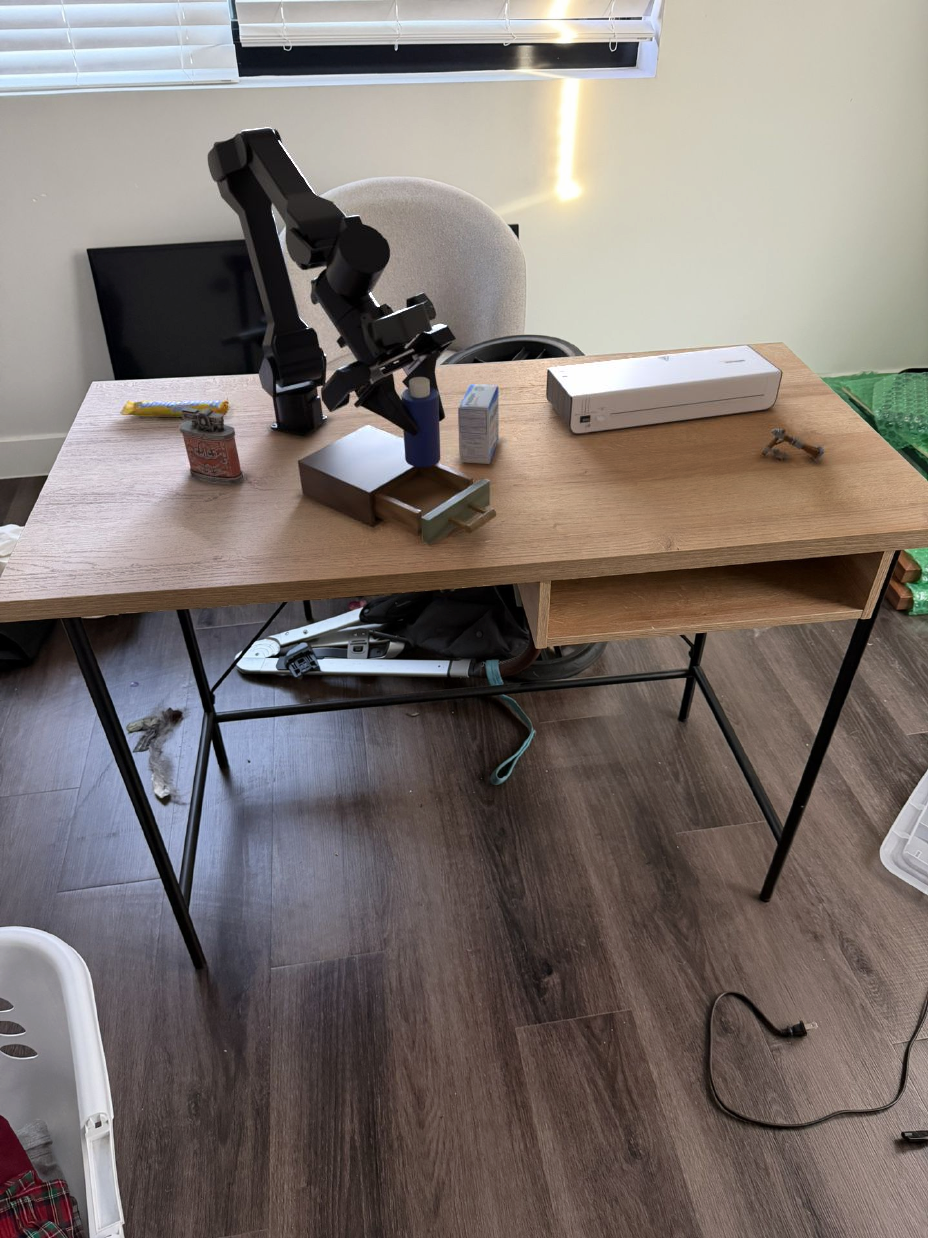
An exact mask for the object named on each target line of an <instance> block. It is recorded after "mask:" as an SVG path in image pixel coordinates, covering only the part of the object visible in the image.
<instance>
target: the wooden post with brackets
mask: <svg viewBox="0 0 928 1238" xmlns="http://www.w3.org/2000/svg"><path fill="white" fill-rule="evenodd" d="M771 434H772V435H773V438H772V439H771V441H770V442H769V443H768V444H767V445H765V447H764V450H762V452H761V455H762V457H766V456H767V455H768V454H770V453H771V454H772V455H774V457H775V458H776V459H777V458H779V459H780V460H781V461H783V460H787V458H788V454H786V451H782V450H780V448H779V447H778V448H777V449H774V447H775V446H778V445H780V444H784V443H787V444H788V445H789V446H791V447H793V448H795V449H797V450H798V451H799V450H801V451H803V452H805V453H807V454H808V455H810V456H811V457H812V459H813V461H814V462H816V463H817V462H818V461H819V460H820V459H821V457H822V456H823V455H824V453H825V450H824V447H823V446H822V445H818V446H813V445H810V444H807V443H804V442H803V441H802V440H800V439H798V438H797V437H794V436H790V435H789V434H787V433H786V429H785V428H780V429H779V428H778V427H777V428H773V429H772V430H771Z"/></svg>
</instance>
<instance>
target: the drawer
mask: <svg viewBox="0 0 928 1238" xmlns="http://www.w3.org/2000/svg"><path fill="white" fill-rule="evenodd" d="M373 502H374V513H375V516H376V517H378V518H381V519H383V520H384V521H385V522H387V523H390V524H392V525H394V526H396V527H399V528H400V529H401V530H404V531H407V532H408V533H411V534H413V535H415V536H418V537H419V536H421V535H422V536H421V539H422V541H421V542H422V543H423V544H425V545H428V546H431V545H433V544H434V543H436V542H437V541H439V540H440V539H442V538H443V537H445V536H447V534H449V533H451V532H452V531H453V530H455V529H456V528H458V527H459V528H461V529H463V530H464V532H465V533H466V534H468V535H471V534H473V533H474V532H476V531H478V530H479V529H481V528H482V527H483V526H485V525H486V524H487V523H489V522H490V521H491V520H493V519H494V518H496V517H497V511H496V510H495V509H494V508H489V509H488V507H489V506H490V505H491V481H490V480H489V479H487V478H484V477H483V478H481V479H479V480H477V481H476V482H475V483H474V477H473V476H470V475H469V474H465V473H463V472H460V471H458V470H456V469H453V468H450V467H448V466H445V465H443V464H440V463H439V464H438V463H437V464H435V465H432V466H429V467H419V468H417V469H416V470H414V471H412V472H411V473H409V474H407V475H406V476H404V477H402V478H400V479H399V480H397V481H395V482H394V483H392V484H390V485H389V486H387V487H385V488H383V489H382V490H380V491H378V492H377V493H375V494H373ZM478 514H480V515H479V516H477V517H476V518H474V519H473V520H472V521H470V522H469V523H468V522H467V521H468V520H470V519H471V518H473V517H474V516H475V515H478Z"/></svg>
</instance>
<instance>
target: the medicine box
mask: <svg viewBox="0 0 928 1238" xmlns="http://www.w3.org/2000/svg"><path fill="white" fill-rule="evenodd" d="M499 390H500V389H499V386H498V385H493V384H483V383H482V384H479V383H478V384H477V383H476V384H475V383H474V384H469V385H468V387H467V390H466V392H465V394H464V396H463V397H462V400H461V402H460V404H459V406H458V408H457V421H458V422H457V427H458V449H459V451H458V454H459V462H460V463H466V464H479V465H480V464H483V465H489V464H491V460H492V458H493V455H494V452H495V450H496V447H497V445H498V442H499V419H500V418H499V409H500V408H499V407H500V406H499V404H500V403H499V402H500V400H499V397H500V395H499V394H500V392H499Z"/></svg>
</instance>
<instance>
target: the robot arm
mask: <svg viewBox="0 0 928 1238" xmlns="http://www.w3.org/2000/svg"><path fill="white" fill-rule="evenodd" d="M207 166H208V171H209V174H210V177H211V178H212V181H214V183H216V185H217V188H218V191H219V194H220V197H221V199H222V200H223V201H224V202H225V203H226V205H228V206H229V207H230V208H231V209H232V210H233V212H234V213H235V214H236V215H237V216H238V219H239V223H240V227H241V230H242V234H243V238H244V241H245V245H246V249H247V252H248V255H249V256H248V257H249V260H250V264H251V267H252V271H253V274H254V279H255V283H256V286H257V289H258V293H259V297H260V300H261V304H262V308H263V311H264V316H265V319H266V323H267V327H266V330H265V333H264V336H263V337H264V338H263V341H262V345H261V346H262V352H263V356H264V357H263V359H262V362H261V365H260V368H259V371H258V378H259V381H260V385H261V388H262V389H263V390H264V391H265V392H266V393H267V395H269V396H270V397H271V398H272V404H273V410H274V416H275V422H273V423H271V425H270V429H271V430H272V431H277V432H283V433H286V434H291V435H295V436H301V437H307V436H309V435H310V434H312V432H314V431H315V430H316V429H318V427H320V426H321V425H322V424H324V423H325V422H327V420H328V417H327V415H325V414H324V412H323V407H322V406H323V405H322V403H323V404H324V406H325V407H326V409H327V410H328V411H329V413H333V412H335V411H338V410H340V409H342V408H343V407H345V406H347V405H349V404H350V399H351V393H353V392H354V393H355V395H356V397H357V400H356V401H355V402H354V403H353V406H354V407H356V409H357V408H360V407H362V408H364V409H366V410H368V411H369V412H372V413H373V414H375V415H378V416H380V417H382V418H383V419H384V420H387V421H388V422H389V423H391V424H393V425H395V426H396V427H398V428H400V429H402V430H405V431H406V432H408V433H409V434H411V435H413V436H415V435H416V434H418V433H419V429H418V427H417V425H416V423H415V421H414V419H413V417H412V416H411V414H410V413H409V411H408V410H407V408H406V406H405V405H404V403H403V402H402V400H401V396H400V395H399V394H398V392H397V390H396V385H395V377H394V372H397V371H399V370H403V372H404V373H405V375H406V376H405V378H404V379H402V380H401V383H402V384H403V385H404V386H405V387H406V389H408V388H409V380H410V379H412V378H415V377H425V378H427V379H429V382H430V387H431V388H433V389H435V390H437V392H438V397H439V423H440V422H442V421H443V420H444V419H445V418H446V414H445V410H444V406H443V402H442V399H441V394H440V391H439V387H438V383H437V376H436V367H437V361H438V360H439V358H441V356H442V355H443V354H445V352H446V351H447V350H448V349H449V348H450V347H451V346H452V345H453V344H454V343H455V342H456V341H457V338H456V336H455V335H454V333H453V332H452V330H451V329H450V327H449V325H446V324H442V323H438V324H436V325H433V326H432V324H431V321H433V320H436V317H437V311H436V309H435V308H436V307H435V306H434V304H433V301H431V299H430V298H429V297H428V296H427V293H426V292H420V293H418V294H415V295H412V296H411V297H408V298H406V300H405V301H406V302H405V303H406V305H405V306H406V307H405V308H402V309H401V310H397V311H395V312H394V310H393V309H392V307H391V306H390V305H389V304H387V303H383V304H381V305H379V303H378V302H377V301H376V299H375V298H374V296H373V295H372V292H373V291H374V289H375V288H376V285H377V284H378V282H379V280H380V278H381V277H382V275H383V273H384V271H385V268H386V267H387V265H388V264H389V261H390V258H391V248H390V244H389V241H388V239H387V238H385V237H384V236H383V234H382V233H381V232H380V231H378V230H377V229H376V228H374V227H372V226H370V225H368V224H364V223H363V221H362V218H361V216H360V215H359V214H356V215H350V216H347V215H346V213H344V211H343V210H341V208H340V207H339V206H338V205H337V204H336V203H335V202H334V201H332V200H329V199H326V198H324V197H322V196H319V195H317V194H316V192H314V190H313V189H312V187H311V185H310V184H309V182H308V181H307V179H306V178H305V177H304V175H303V173H302V172H301V170H300V169H299V167H298V166H297V164H295V162H294V160H293V159H292V158H291V156H290V155H289V153H288V152H287V150H286V148H285V147H284V146H283V141H282V138H281V134H280V133H279V131H278V130H277V129H276V128H274V129H273V128H271V127H261V128H253V129H252V128H251V129H243V130H241V132H240V133H239V132H238V133H236V134H235V135H234V136H233V137H231V138H229V139H227V140H221V141H215V142H214V143H213V146H212V148H211V149H210V150H209V151H208V153H207ZM273 206H274V209H276V211H277V212H278V214H279V216H280V217H281V219H282V220H283V222H284V224H285V236H284V237H285V245H286V250H287V252H288V255H289V258H290V260H291V261H292V262H293V263H295V264H296V266H297V267H298V268H299V269H300V270H302V271H309V270H314V269H319V268H324V269H323V270H322V271H320V273H319V274H318V276H317V277H315V278H314V279H311V280H310V286H311V292H310V300H311V304H312V305H314V306H315V305H317V304H319V305H320V306H321V308H322V309H323V311H324V312H325V314H326V315H327V317H328V318H329V320H330V322H331V324H332V325H333V326H334V327H335V329H336V331H337V332H338V334H339V335H340V336H339V337H338V338H337V340H336V343H337V345H338V346H339V348H340V349H344V348H345V347H348V349H349V350H350V352H351V353H352V355H353V356H354V359H355V360H356V361H354V362H351V363H349V364H347V365H344V366H342V367H340V368H337V369H336V370H335V371H334V372H333V374H332V375H331V376H330V377H329V378H328V380H327V364H328V363H327V355H326V354H325V352H324V350H323V348H322V347H321V346H320V341H319V337H318V333H317V331H316V330H315V328H314V327H310V326H308V325H307V323H306V322H305V321H304V320H303V319H302V318H301V315H300V313H299V309H298V305H297V302H296V301H297V300H296V298H295V293H294V290H293V286H292V282H291V277H290V273H289V270H288V266H287V262H286V258H285V254H284V251H283V247H282V243H281V239H280V235H279V231H278V227H277V224H276V219H275V215H274V211H273ZM325 267H326V268H325ZM408 344H409V345H408ZM406 346H407V347H406ZM319 387H321V388H320V396H319V392H318V391H319V390H318V388H319Z"/></svg>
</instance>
